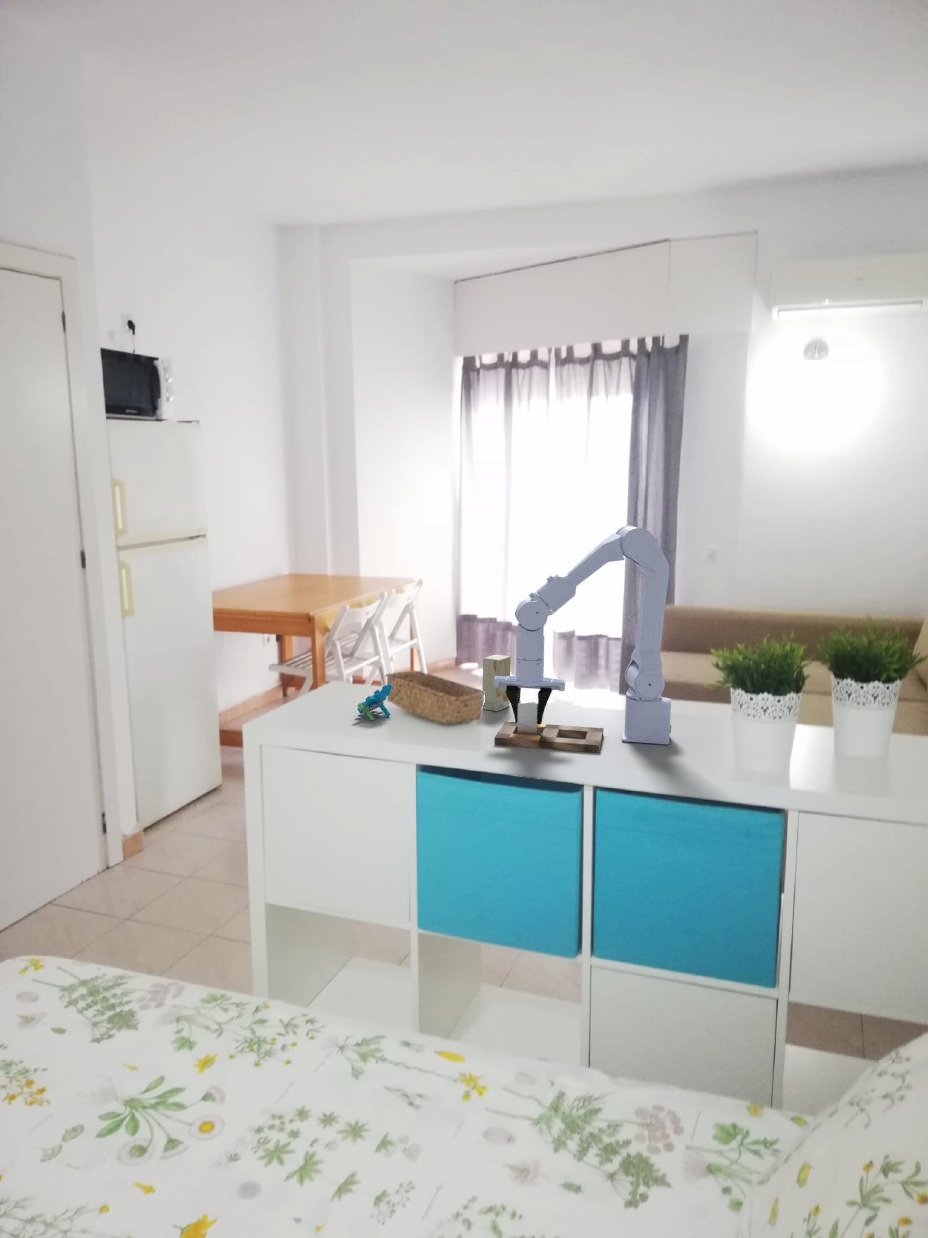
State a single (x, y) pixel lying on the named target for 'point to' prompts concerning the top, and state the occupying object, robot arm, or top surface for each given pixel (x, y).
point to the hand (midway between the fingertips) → (528, 722)
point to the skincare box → (491, 669)
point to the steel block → (528, 717)
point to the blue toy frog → (375, 702)
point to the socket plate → (552, 737)
